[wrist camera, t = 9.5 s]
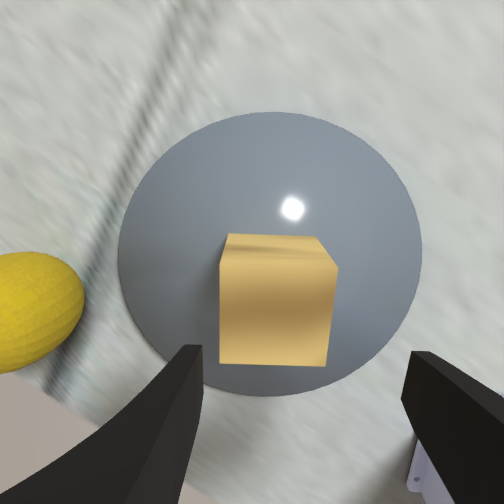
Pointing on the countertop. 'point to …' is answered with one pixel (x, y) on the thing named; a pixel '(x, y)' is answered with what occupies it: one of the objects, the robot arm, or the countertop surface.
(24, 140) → the countertop surface
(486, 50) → the countertop surface
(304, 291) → the cube
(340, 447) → the countertop surface
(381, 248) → the plate
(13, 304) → the lemon
